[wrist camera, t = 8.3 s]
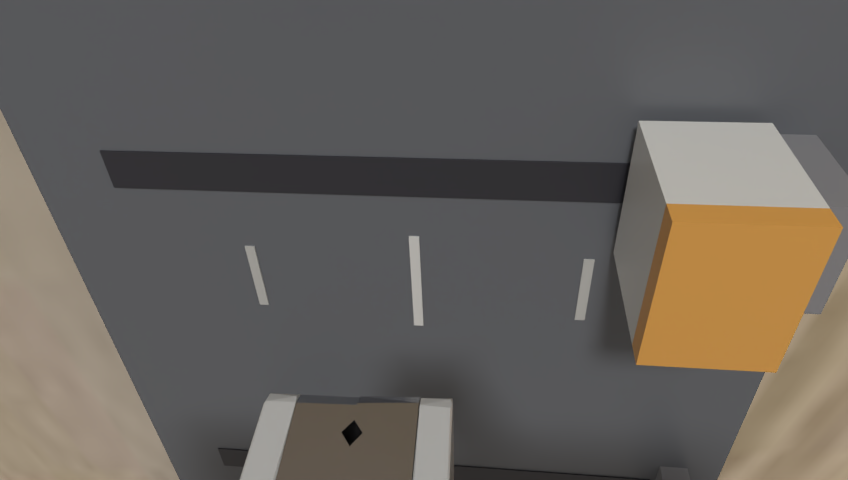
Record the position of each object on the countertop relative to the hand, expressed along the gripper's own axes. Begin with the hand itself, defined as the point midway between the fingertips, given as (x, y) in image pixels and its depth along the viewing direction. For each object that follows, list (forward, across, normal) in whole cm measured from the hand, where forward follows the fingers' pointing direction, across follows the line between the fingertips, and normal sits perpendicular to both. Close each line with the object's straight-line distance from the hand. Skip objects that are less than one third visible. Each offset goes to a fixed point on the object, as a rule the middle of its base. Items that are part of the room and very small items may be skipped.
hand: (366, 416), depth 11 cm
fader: (+7, -7, +1) cm, 10 cm away
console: (+10, 0, +8) cm, 13 cm away
